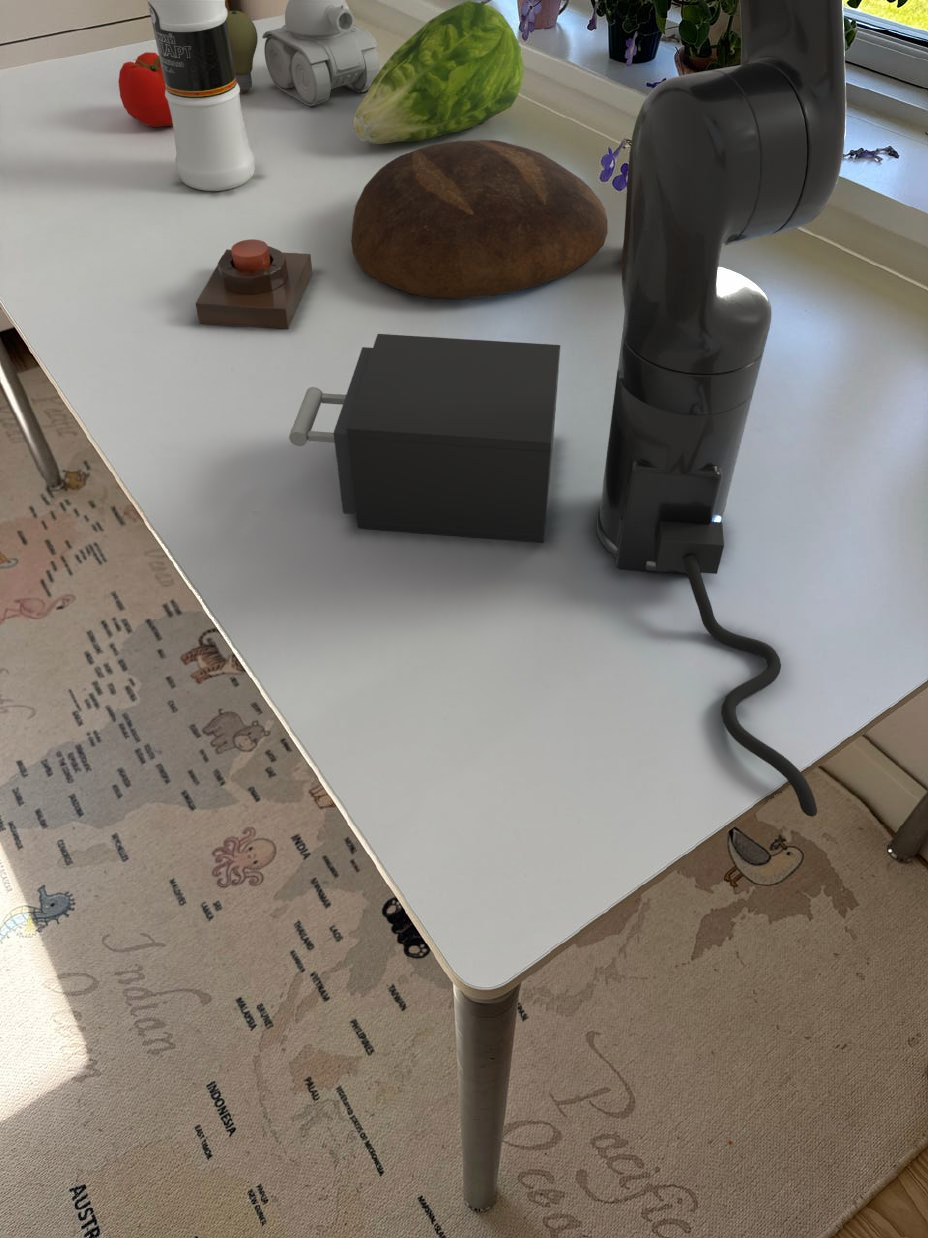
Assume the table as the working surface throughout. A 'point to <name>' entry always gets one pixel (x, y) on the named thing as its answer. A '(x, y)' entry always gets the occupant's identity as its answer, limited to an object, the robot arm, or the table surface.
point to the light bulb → (242, 47)
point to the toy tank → (320, 51)
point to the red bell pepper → (145, 91)
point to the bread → (475, 220)
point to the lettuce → (444, 78)
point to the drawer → (339, 437)
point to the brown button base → (255, 292)
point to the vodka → (202, 93)
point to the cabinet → (454, 437)
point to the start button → (250, 255)
